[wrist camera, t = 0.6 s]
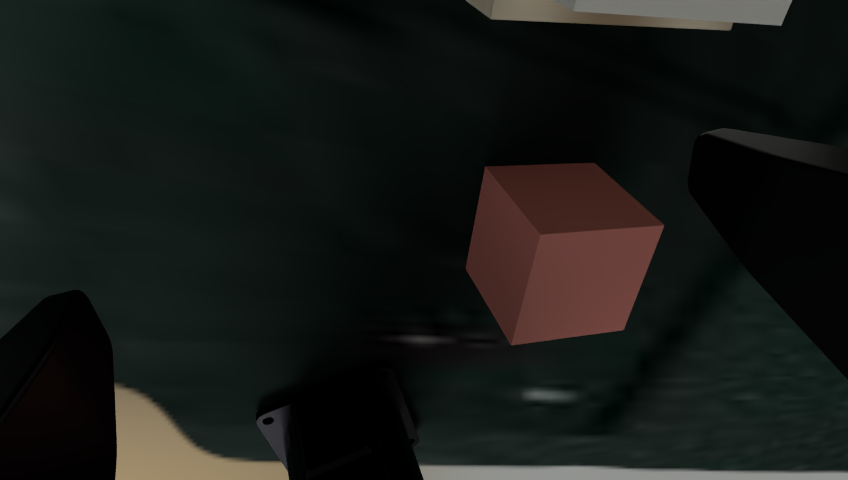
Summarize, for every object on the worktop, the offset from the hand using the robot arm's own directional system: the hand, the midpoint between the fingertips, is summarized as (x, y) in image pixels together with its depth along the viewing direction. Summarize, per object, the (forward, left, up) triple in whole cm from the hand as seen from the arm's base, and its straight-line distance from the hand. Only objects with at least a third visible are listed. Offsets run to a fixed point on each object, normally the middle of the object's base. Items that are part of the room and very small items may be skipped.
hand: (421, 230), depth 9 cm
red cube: (-11, -6, -13) cm, 19 cm away
